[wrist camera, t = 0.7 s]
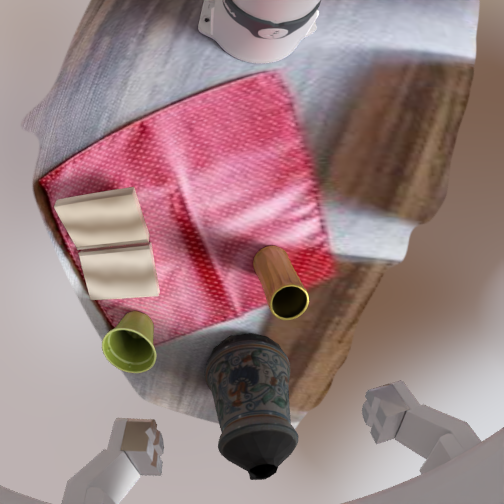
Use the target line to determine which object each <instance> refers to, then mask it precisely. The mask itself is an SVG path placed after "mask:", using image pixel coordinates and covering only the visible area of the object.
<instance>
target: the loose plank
mask: <svg viewBox="0 0 504 504" xmlns="http://www.w3.org/2000/svg"><path fill="white" fill-rule="evenodd" d="M54 208H55V210H56V212H57V214H58V216H59V218H60V219H61V221H62V223H63V225H64V227H65V228H66V230H67V232H68V234H69V235H70V237H71V239H72V241H73V242H74V244H75V246H76V248H77V250H81V249H90V248H99V247H109V246H118V245H127V244H137V243H147V242H149V232H148V229H147V226H146V223H145V220H144V217H143V214H142V211H141V208H140V204H139V201H138V198H137V195H136V192H135V188H134V187H130V188H123V189H117V190H110V191H104V192H97V193H91V194H85V195H80V196H74V197H69V198H63V199H58V200H57V201H56V203H55V205H54Z"/></svg>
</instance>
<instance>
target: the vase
mask: <svg viewBox="0 0 504 504" xmlns="http://www.w3.org/2000/svg"><path fill="white" fill-rule="evenodd" d="M253 267H254V270H255V272H256V274H257V276H258V278H259V280H260V282H261V284H262V287H263V290H264V293H265V296H266V299H267V302H268V305H269V308H270V311H271V312H272V313H273V314H274V315H275V316H276V317H277V318H279V319H282V320H291V319H295V318H297V317H299V316H300V315H301V314H302V313H304V311H305V310H306V309H307V306H308V303H309V296H308V293H307V291H306V289H305V288H304V286H303V284H302V282H301V281H300V279H299V277H298V275H297V274H296V272H295V270H294V268H293V266H292V264H291V262H290V260H289V258H288V255H287V253H286V252H285V251H284V250H283V249H282V248H280V247H277V246H267V247H265V248H262V249H261V250H260V251H259V252H258V253H257V254H256V255H255V257H254V261H253Z"/></svg>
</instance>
